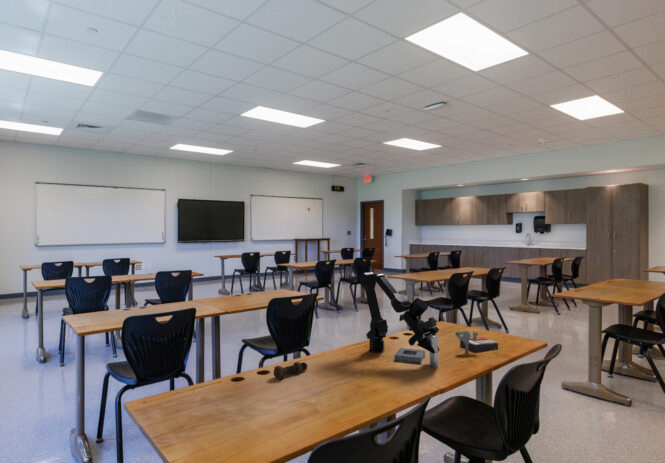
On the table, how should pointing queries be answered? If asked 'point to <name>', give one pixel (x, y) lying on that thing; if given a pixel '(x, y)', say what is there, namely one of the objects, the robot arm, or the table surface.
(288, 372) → the dark brown knobby piece
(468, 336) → the mechanical component
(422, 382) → the table surface
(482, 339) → the calculator
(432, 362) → the axle
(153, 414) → the table surface
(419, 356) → the block
